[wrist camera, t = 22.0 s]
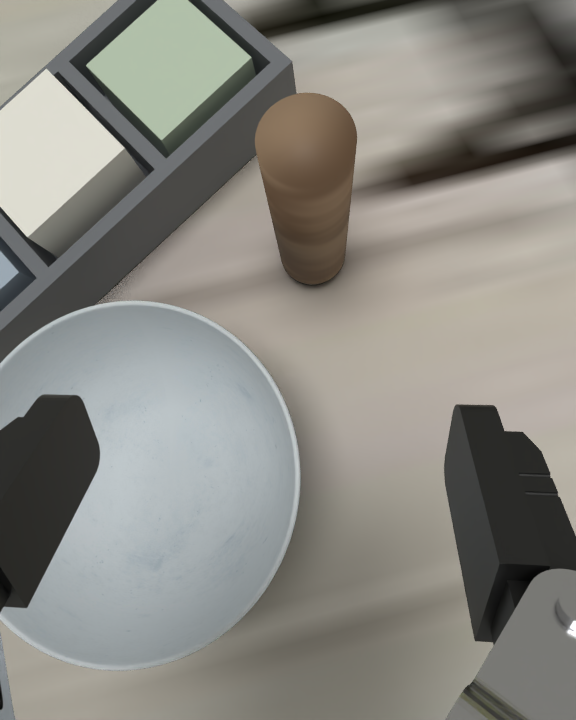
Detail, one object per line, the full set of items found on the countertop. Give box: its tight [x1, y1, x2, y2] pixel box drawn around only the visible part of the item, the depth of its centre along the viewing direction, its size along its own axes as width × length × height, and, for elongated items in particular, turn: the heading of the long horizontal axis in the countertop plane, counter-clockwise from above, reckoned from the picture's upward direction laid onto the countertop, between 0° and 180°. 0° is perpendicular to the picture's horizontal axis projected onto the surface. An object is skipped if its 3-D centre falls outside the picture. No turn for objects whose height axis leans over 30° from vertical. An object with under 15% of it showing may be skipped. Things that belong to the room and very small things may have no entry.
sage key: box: [86, 0, 256, 159], centre depth 30 cm, size 6×6×4 cm
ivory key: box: [0, 69, 146, 258], centre depth 28 cm, size 6×6×4 cm
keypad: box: [0, 0, 296, 363], centre depth 30 cm, size 10×26×4 cm, turn 133°
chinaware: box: [0, 301, 301, 671], centre depth 25 cm, size 15×15×8 cm
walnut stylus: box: [255, 93, 357, 285], centre depth 24 cm, size 4×4×12 cm
